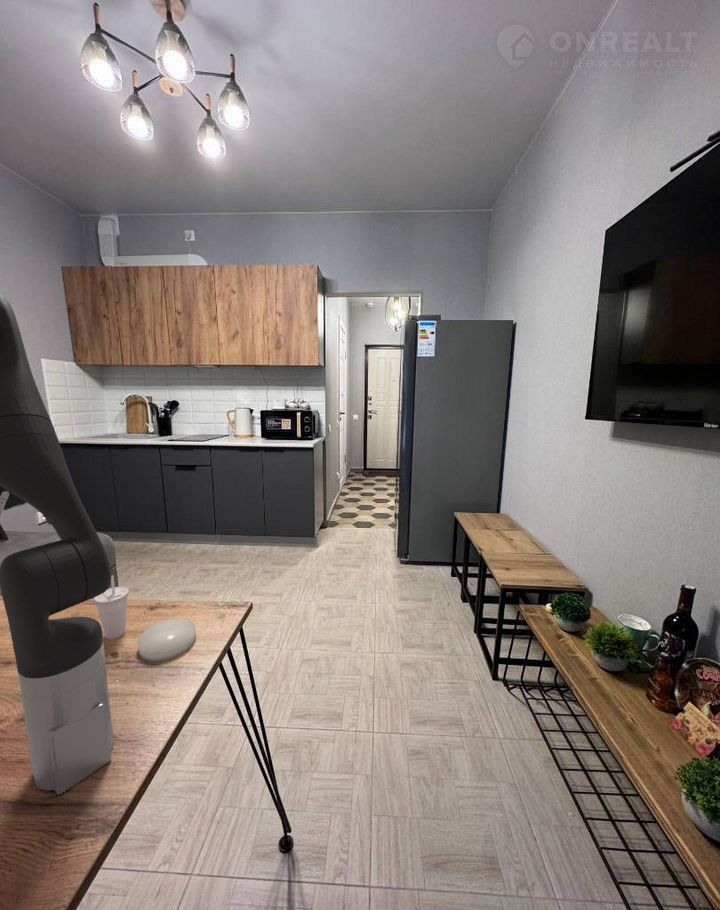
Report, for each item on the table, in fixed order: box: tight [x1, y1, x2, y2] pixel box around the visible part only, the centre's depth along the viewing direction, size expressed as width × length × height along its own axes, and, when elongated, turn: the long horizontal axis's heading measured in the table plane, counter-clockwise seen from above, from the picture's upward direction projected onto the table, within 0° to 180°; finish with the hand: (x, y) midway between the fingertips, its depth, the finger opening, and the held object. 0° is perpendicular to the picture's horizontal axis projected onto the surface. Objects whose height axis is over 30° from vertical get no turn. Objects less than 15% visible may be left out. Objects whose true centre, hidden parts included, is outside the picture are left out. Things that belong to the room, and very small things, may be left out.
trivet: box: [137, 618, 197, 662], centre depth 77 cm, size 11×11×2 cm
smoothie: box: [93, 574, 130, 640], centre depth 79 cm, size 6×6×14 cm
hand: (30, 531), depth 76 cm, fingers open, 8 cm apart
